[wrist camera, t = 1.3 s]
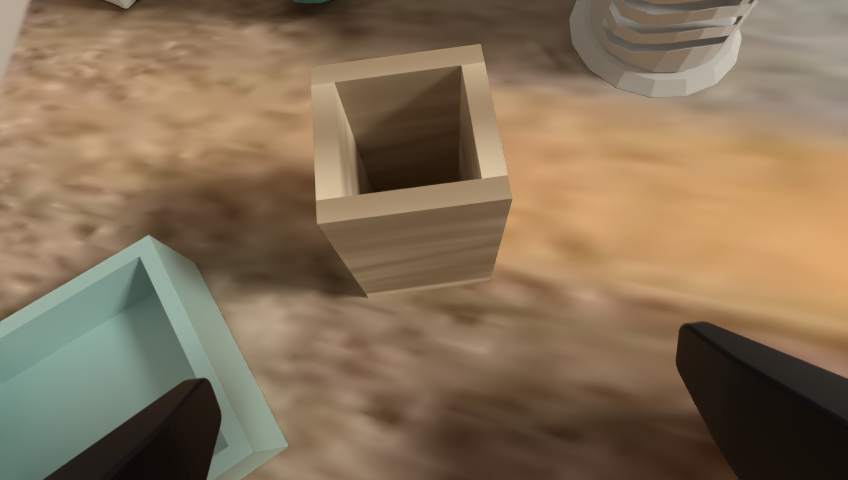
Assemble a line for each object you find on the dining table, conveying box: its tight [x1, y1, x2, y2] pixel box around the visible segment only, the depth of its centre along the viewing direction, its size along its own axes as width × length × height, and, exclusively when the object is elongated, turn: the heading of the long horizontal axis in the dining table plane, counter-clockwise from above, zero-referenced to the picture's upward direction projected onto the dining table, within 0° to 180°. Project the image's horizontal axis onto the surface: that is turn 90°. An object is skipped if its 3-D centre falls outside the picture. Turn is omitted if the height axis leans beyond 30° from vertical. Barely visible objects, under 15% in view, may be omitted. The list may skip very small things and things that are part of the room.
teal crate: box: [0, 235, 288, 480], centre depth 20 cm, size 10×10×4 cm
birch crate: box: [310, 44, 512, 298], centre depth 20 cm, size 6×6×10 cm
